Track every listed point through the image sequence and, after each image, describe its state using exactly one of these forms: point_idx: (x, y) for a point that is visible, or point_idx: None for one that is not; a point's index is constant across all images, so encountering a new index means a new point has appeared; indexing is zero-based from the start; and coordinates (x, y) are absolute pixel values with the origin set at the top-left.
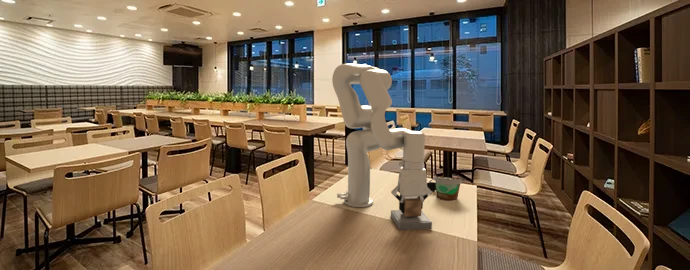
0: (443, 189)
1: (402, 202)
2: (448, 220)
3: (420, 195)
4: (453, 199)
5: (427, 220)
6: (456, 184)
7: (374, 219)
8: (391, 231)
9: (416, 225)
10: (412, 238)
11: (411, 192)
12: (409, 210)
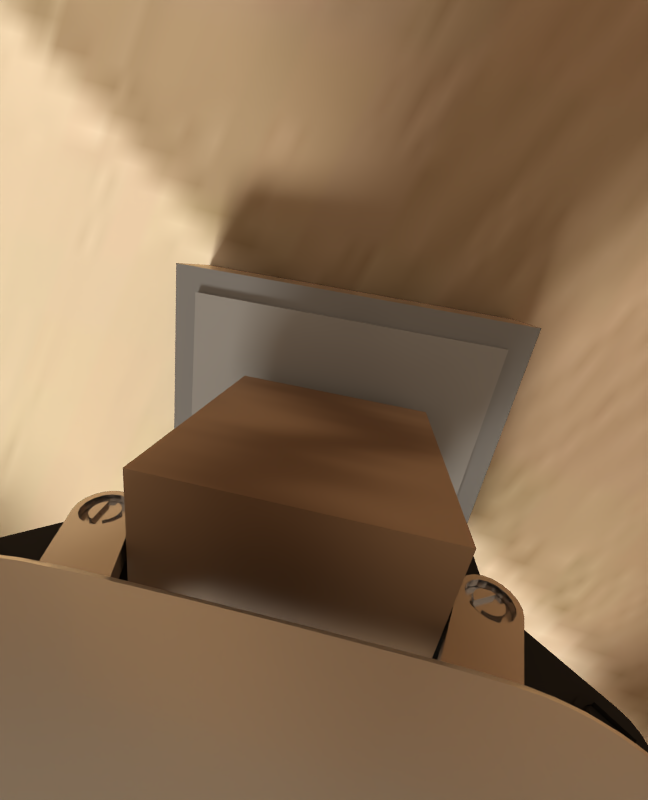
0: None
1: (473, 579)
2: (21, 365)
3: (63, 571)
4: None
5: (209, 301)
6: None
7: (588, 560)
8: (604, 318)
9: (347, 291)
10: (500, 102)
11: (329, 792)
12: (381, 433)
